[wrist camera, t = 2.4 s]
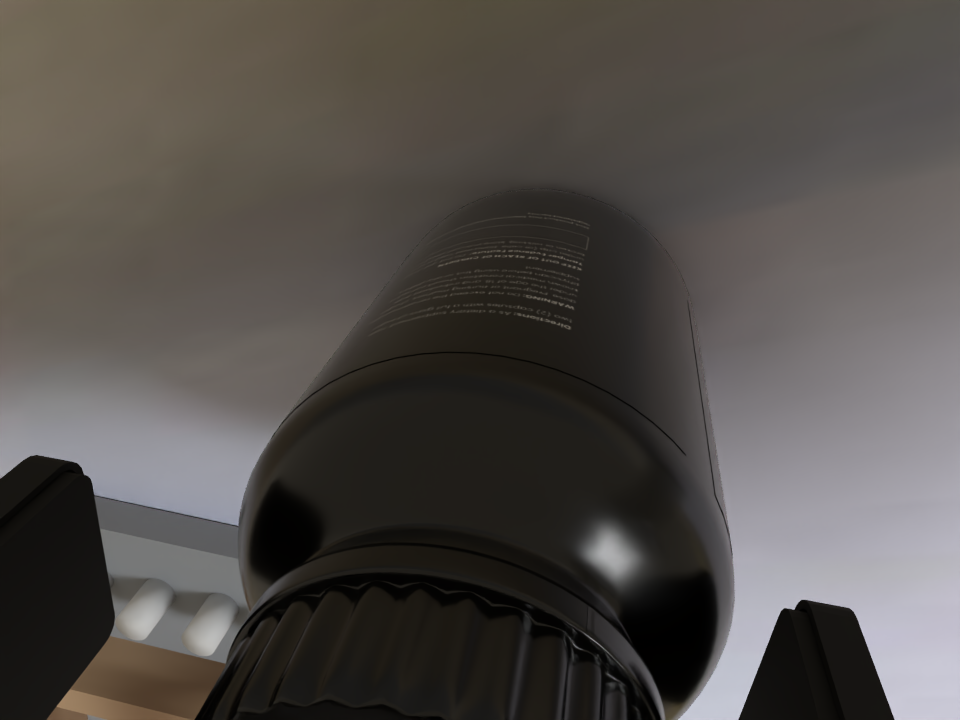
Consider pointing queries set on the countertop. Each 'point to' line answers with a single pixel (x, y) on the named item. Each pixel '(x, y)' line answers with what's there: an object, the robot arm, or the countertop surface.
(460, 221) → the supplement bottle
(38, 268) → the countertop surface
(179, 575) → the board
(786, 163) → the countertop surface
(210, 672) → the frame
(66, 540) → the robot arm
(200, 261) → the countertop surface
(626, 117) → the countertop surface
